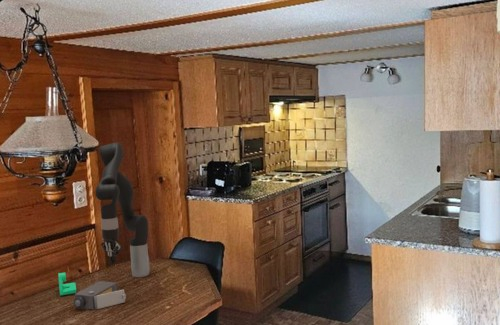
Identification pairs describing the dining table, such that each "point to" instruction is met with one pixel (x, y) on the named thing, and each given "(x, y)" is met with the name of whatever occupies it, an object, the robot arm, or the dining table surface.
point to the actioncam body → (93, 294)
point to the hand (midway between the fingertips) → (112, 263)
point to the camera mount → (65, 285)
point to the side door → (109, 299)
